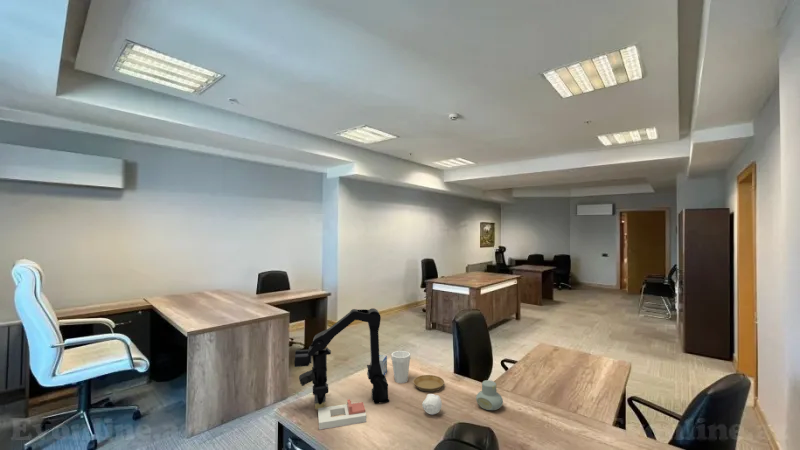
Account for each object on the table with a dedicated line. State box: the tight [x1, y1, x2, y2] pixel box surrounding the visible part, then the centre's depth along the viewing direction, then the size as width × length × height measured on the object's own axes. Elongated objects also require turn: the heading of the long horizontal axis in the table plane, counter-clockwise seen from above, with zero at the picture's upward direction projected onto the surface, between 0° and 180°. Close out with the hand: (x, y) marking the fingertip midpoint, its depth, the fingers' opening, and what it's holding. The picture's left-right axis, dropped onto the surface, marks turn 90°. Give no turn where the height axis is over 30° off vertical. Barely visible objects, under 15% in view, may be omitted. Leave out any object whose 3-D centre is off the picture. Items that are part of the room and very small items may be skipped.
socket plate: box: [317, 401, 367, 430], centre depth 134 cm, size 18×11×2 cm, turn 105°
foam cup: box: [390, 350, 411, 384], centre depth 168 cm, size 10×9×13 cm
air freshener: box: [475, 379, 504, 411], centre depth 141 cm, size 11×8×10 cm
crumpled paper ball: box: [421, 393, 443, 415], centre depth 137 cm, size 8×8×8 cm
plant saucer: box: [412, 374, 445, 393], centre depth 161 cm, size 15×15×3 cm
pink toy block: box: [346, 398, 366, 414], centre depth 136 cm, size 6×6×3 cm
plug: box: [314, 395, 327, 410], centre depth 144 cm, size 4×4×7 cm
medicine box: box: [379, 354, 388, 377], centre depth 175 cm, size 8×4×9 cm, turn 168°
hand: (320, 401), depth 144 cm, fingers closed on plug, 4 cm apart
